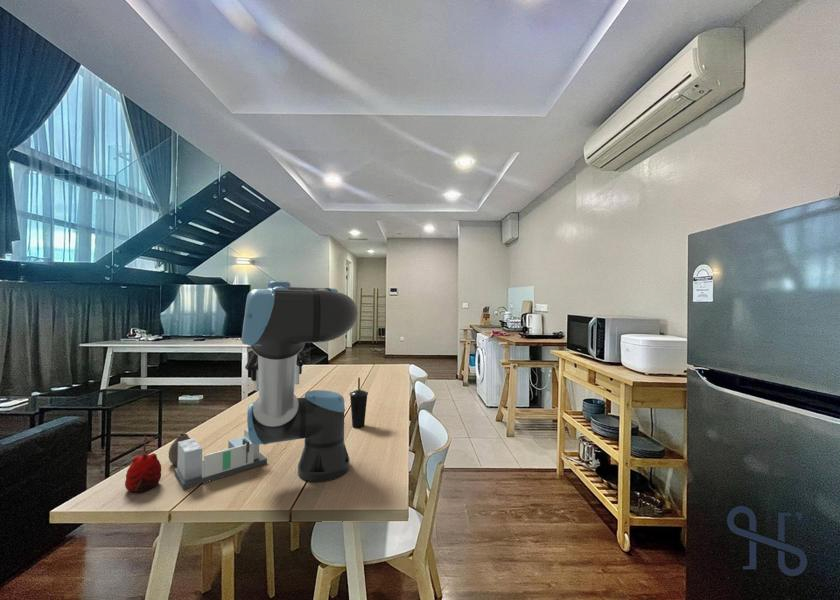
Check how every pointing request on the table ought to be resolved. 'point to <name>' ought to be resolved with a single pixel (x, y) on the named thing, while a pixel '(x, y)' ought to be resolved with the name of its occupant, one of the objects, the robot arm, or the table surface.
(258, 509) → the table surface
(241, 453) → the base
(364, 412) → the drinking cup
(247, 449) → the gauge plunger
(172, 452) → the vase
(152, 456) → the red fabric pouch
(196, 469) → the white vise jaw block
